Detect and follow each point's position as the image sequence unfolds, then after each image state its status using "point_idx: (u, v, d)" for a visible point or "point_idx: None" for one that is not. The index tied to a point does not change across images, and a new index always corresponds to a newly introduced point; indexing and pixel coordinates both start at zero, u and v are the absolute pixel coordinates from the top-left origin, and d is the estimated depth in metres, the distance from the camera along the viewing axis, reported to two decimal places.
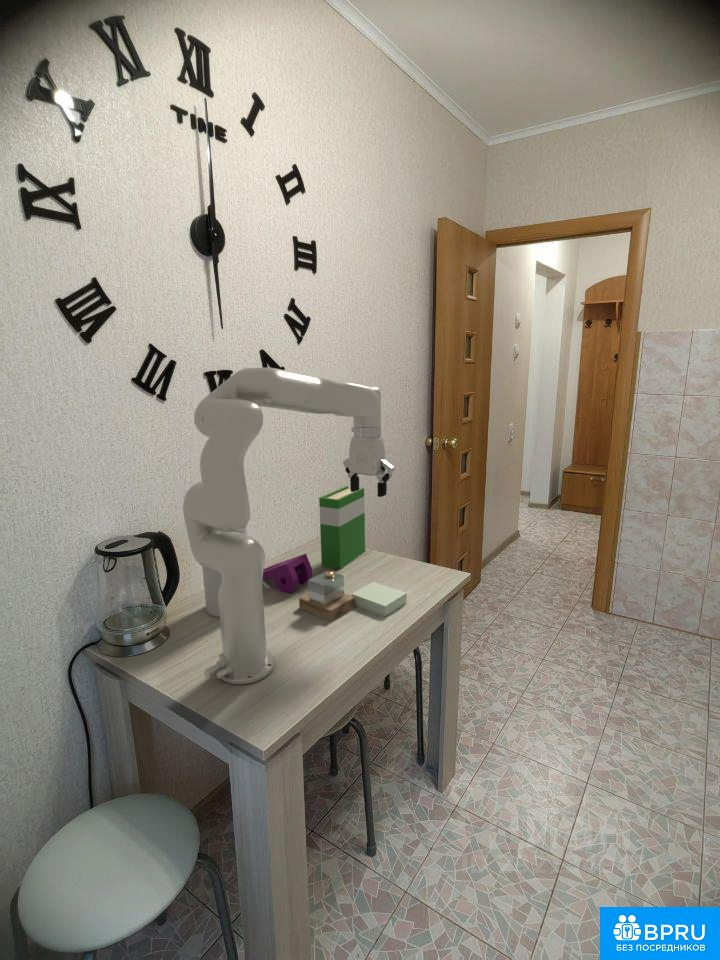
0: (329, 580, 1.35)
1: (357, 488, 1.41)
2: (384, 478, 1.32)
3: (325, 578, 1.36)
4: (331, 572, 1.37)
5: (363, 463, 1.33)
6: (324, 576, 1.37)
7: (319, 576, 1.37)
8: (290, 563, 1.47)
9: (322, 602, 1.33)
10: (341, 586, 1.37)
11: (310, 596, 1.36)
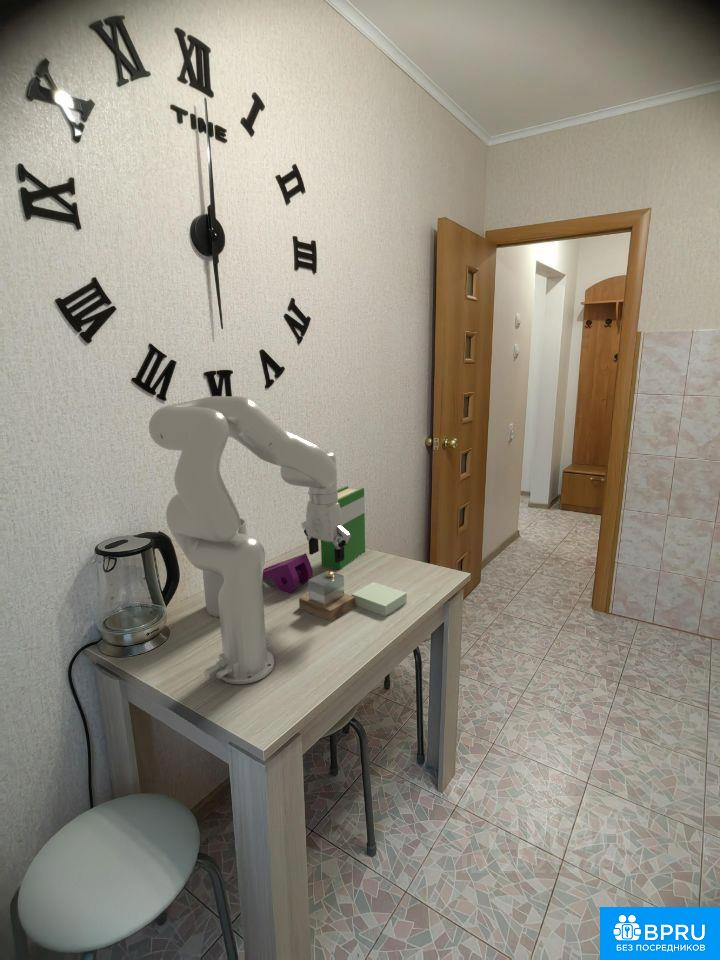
0: (329, 580, 1.35)
1: (316, 550, 1.38)
2: (341, 544, 1.29)
3: (325, 578, 1.36)
4: (331, 572, 1.37)
5: (319, 529, 1.30)
6: (324, 576, 1.37)
7: (319, 576, 1.37)
8: (291, 563, 1.47)
9: (322, 602, 1.33)
10: (341, 586, 1.37)
11: (310, 596, 1.36)
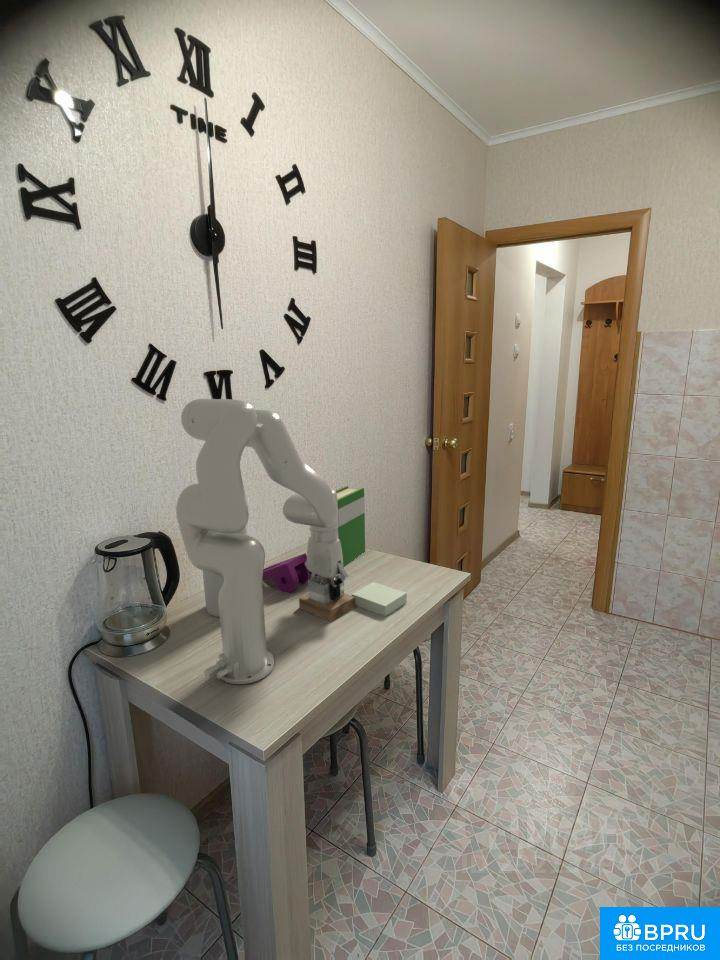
0: (329, 580, 1.35)
1: None
2: (337, 584, 1.32)
3: (325, 578, 1.36)
4: None
5: (320, 565, 1.32)
6: None
7: (319, 576, 1.37)
8: (290, 563, 1.47)
9: (322, 602, 1.33)
10: (341, 586, 1.37)
11: (310, 596, 1.36)
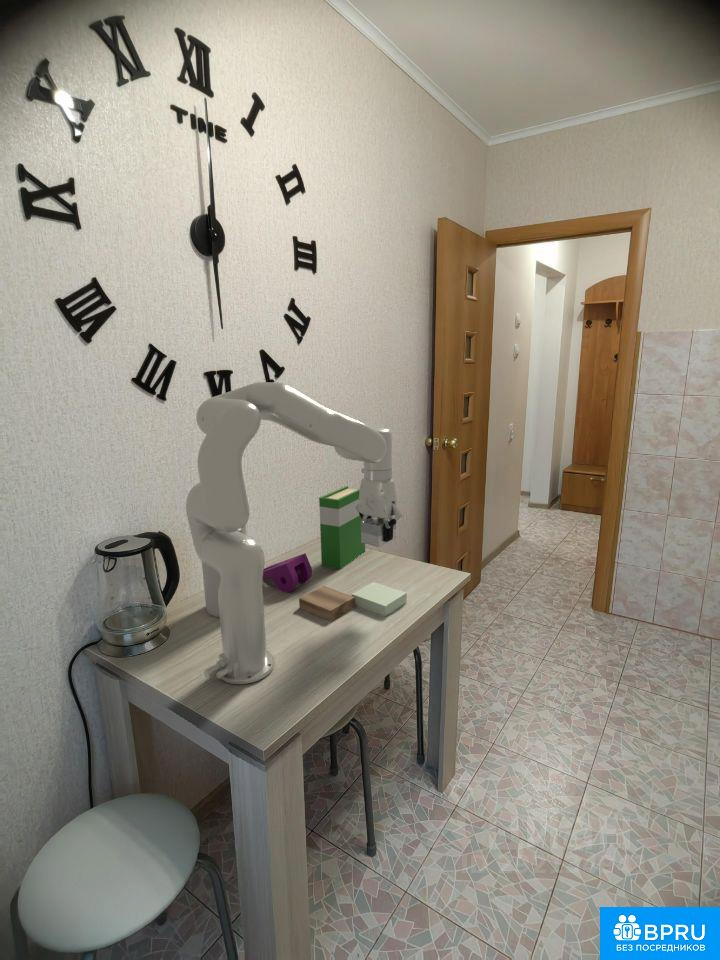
0: (382, 521, 1.33)
1: None
2: (391, 525, 1.31)
3: (377, 520, 1.34)
4: None
5: (374, 506, 1.31)
6: (376, 519, 1.35)
7: (371, 519, 1.35)
8: (290, 563, 1.47)
9: (376, 543, 1.31)
10: (393, 529, 1.36)
11: (362, 538, 1.34)
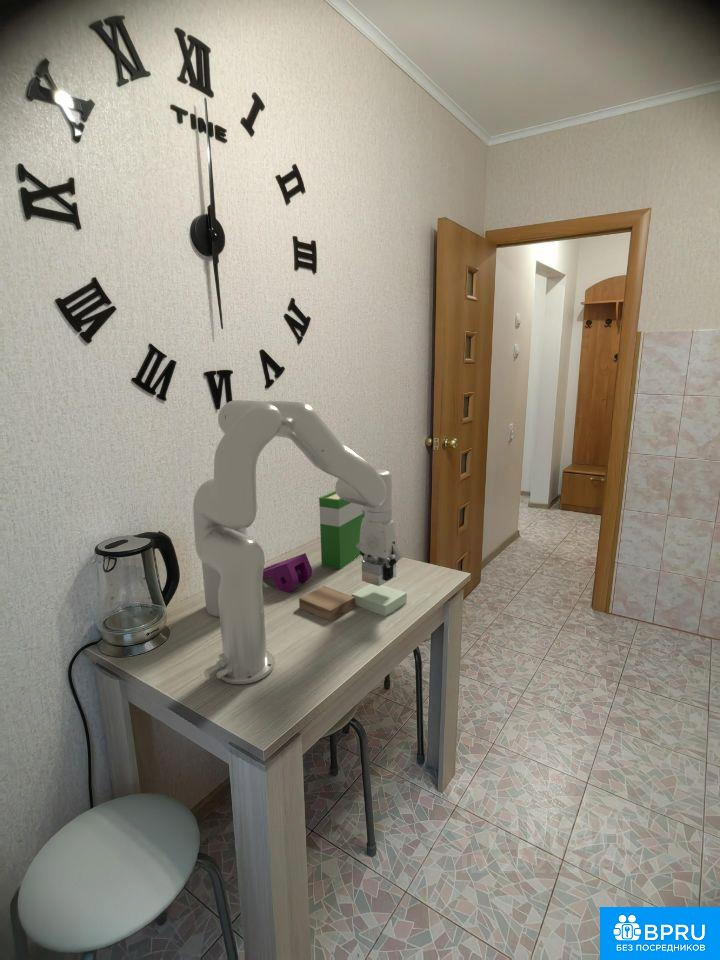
0: (382, 560, 1.36)
1: None
2: (391, 564, 1.33)
3: (378, 558, 1.37)
4: None
5: (374, 546, 1.33)
6: (377, 557, 1.38)
7: (372, 557, 1.38)
8: (290, 563, 1.47)
9: (377, 582, 1.34)
10: (394, 567, 1.38)
11: (363, 577, 1.37)
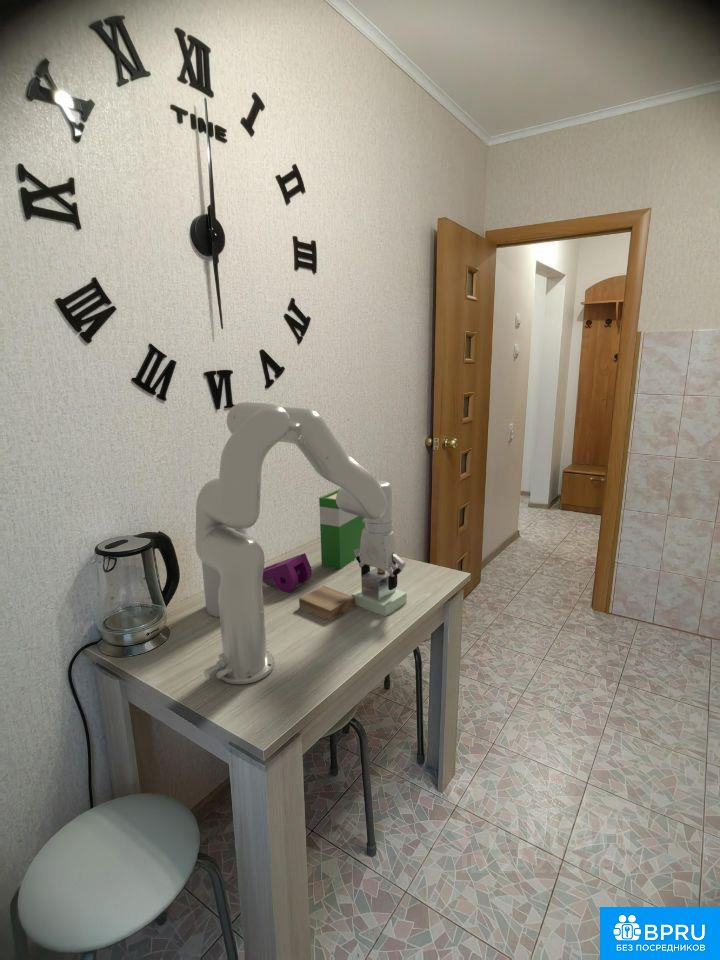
0: (382, 576, 1.37)
1: None
2: (395, 572, 1.33)
3: (377, 574, 1.38)
4: None
5: (374, 557, 1.34)
6: (376, 572, 1.39)
7: (371, 572, 1.39)
8: (290, 563, 1.47)
9: (376, 598, 1.35)
10: None
11: (363, 592, 1.38)
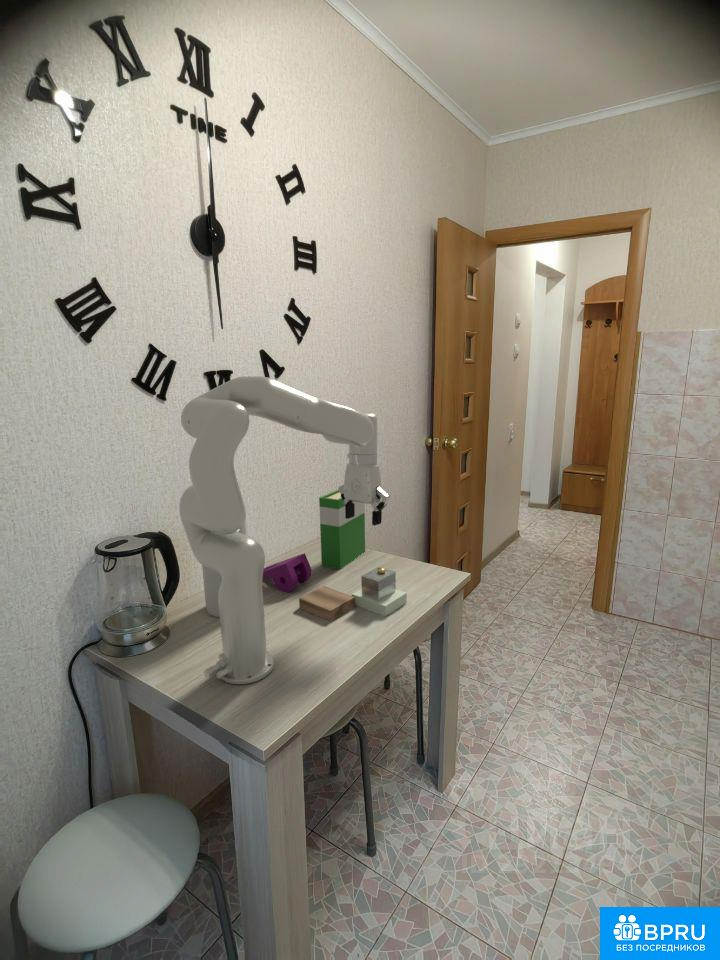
0: (382, 576, 1.37)
1: (352, 515, 1.38)
2: (379, 506, 1.29)
3: (377, 574, 1.38)
4: (383, 568, 1.39)
5: (358, 490, 1.31)
6: (376, 572, 1.39)
7: (371, 572, 1.39)
8: (289, 563, 1.47)
9: (376, 598, 1.35)
10: (393, 582, 1.39)
11: (363, 592, 1.38)
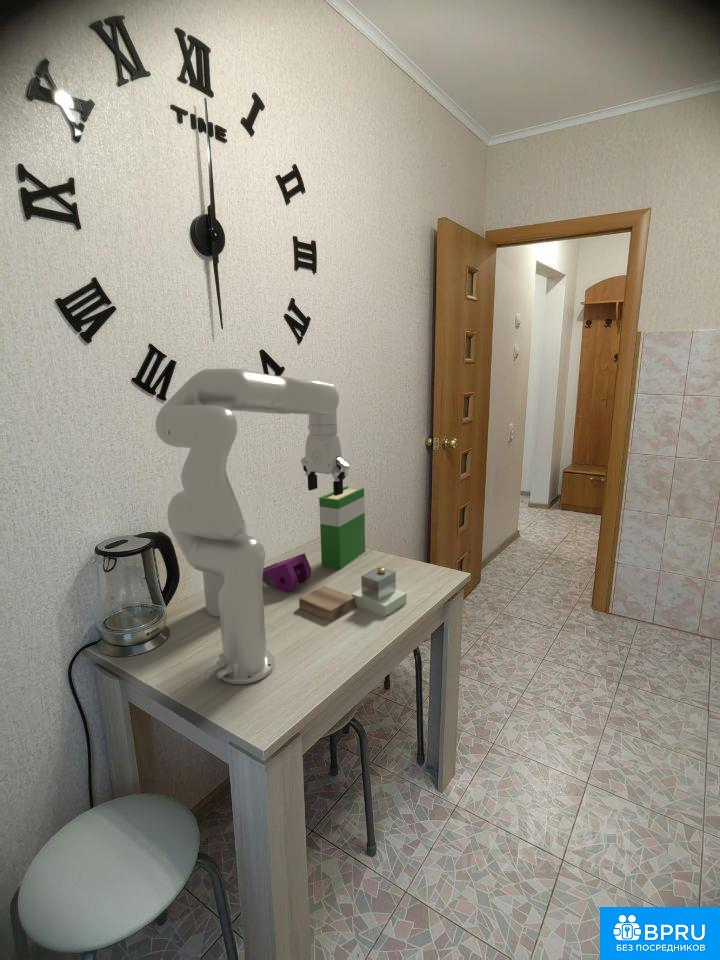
0: (382, 576, 1.37)
1: (315, 487, 1.39)
2: (339, 476, 1.30)
3: (377, 574, 1.38)
4: (383, 568, 1.39)
5: (319, 461, 1.31)
6: (376, 572, 1.39)
7: (371, 572, 1.39)
8: (289, 563, 1.47)
9: (376, 598, 1.35)
10: (393, 582, 1.39)
11: (363, 592, 1.38)
